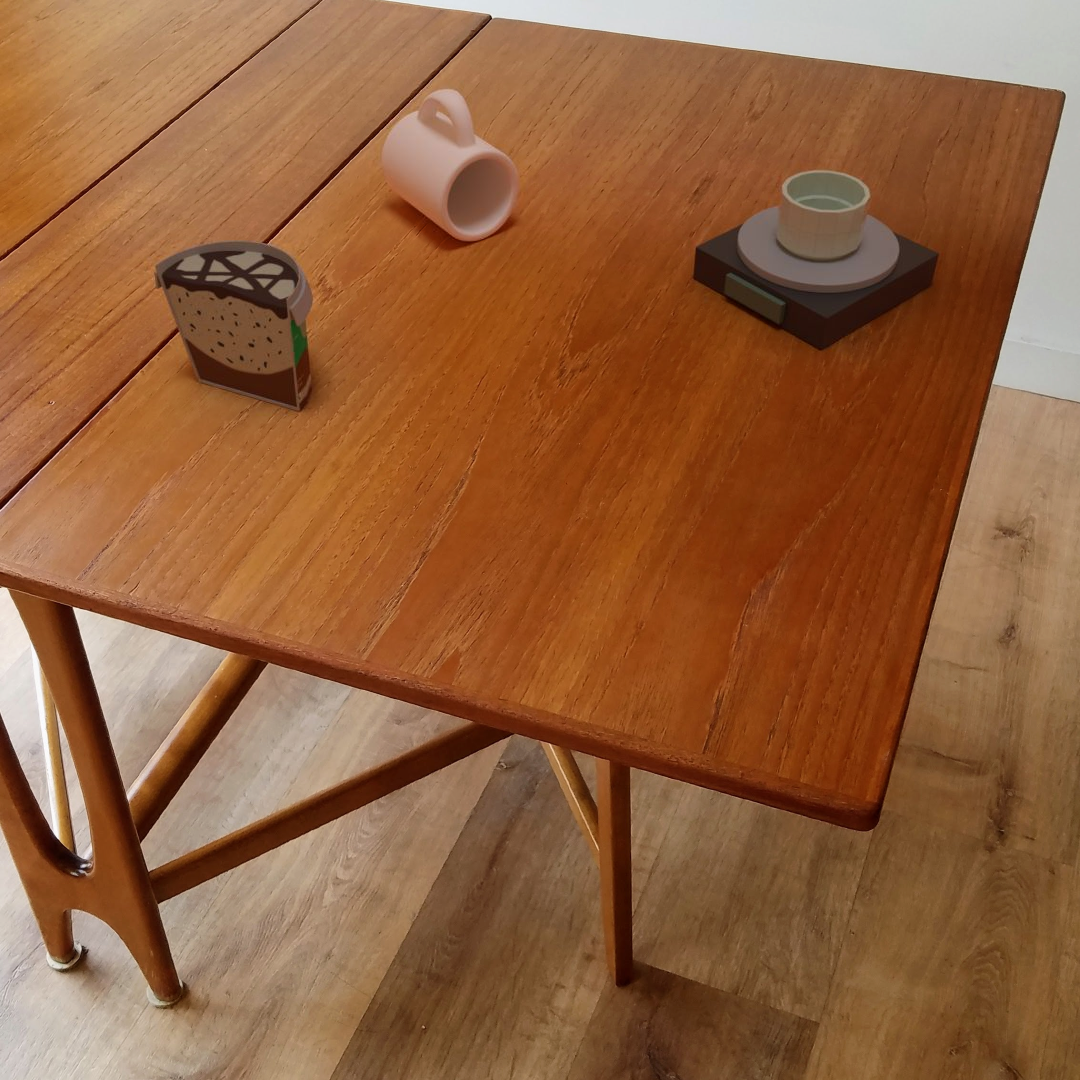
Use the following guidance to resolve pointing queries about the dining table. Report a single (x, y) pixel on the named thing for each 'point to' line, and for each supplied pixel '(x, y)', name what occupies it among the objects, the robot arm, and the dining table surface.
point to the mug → (450, 169)
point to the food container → (242, 318)
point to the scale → (814, 277)
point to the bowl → (822, 214)
